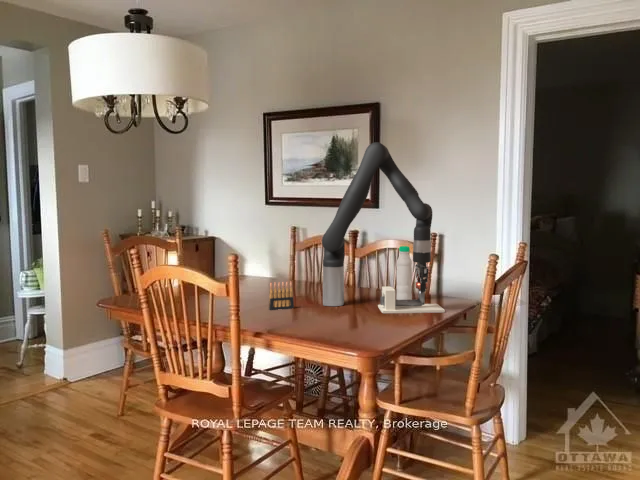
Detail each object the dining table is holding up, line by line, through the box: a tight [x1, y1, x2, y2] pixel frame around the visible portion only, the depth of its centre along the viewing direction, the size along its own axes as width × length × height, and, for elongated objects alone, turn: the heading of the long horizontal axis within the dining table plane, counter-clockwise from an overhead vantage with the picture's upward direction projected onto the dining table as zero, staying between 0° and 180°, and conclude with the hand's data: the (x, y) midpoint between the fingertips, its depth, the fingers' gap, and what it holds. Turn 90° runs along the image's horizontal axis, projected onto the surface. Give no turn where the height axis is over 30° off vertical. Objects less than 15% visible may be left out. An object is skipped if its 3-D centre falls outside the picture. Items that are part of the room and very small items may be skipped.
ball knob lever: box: [379, 281, 429, 307], centre depth 242 cm, size 20×5×10 cm, turn 93°
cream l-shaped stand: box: [377, 286, 446, 314], centre depth 243 cm, size 26×13×9 cm, turn 93°
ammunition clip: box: [268, 280, 295, 311], centre depth 245 cm, size 11×2×12 cm, turn 109°
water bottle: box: [395, 245, 413, 300], centre depth 262 cm, size 7×7×25 cm
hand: (421, 290), depth 242 cm, fingers closed on ball knob lever, 5 cm apart
